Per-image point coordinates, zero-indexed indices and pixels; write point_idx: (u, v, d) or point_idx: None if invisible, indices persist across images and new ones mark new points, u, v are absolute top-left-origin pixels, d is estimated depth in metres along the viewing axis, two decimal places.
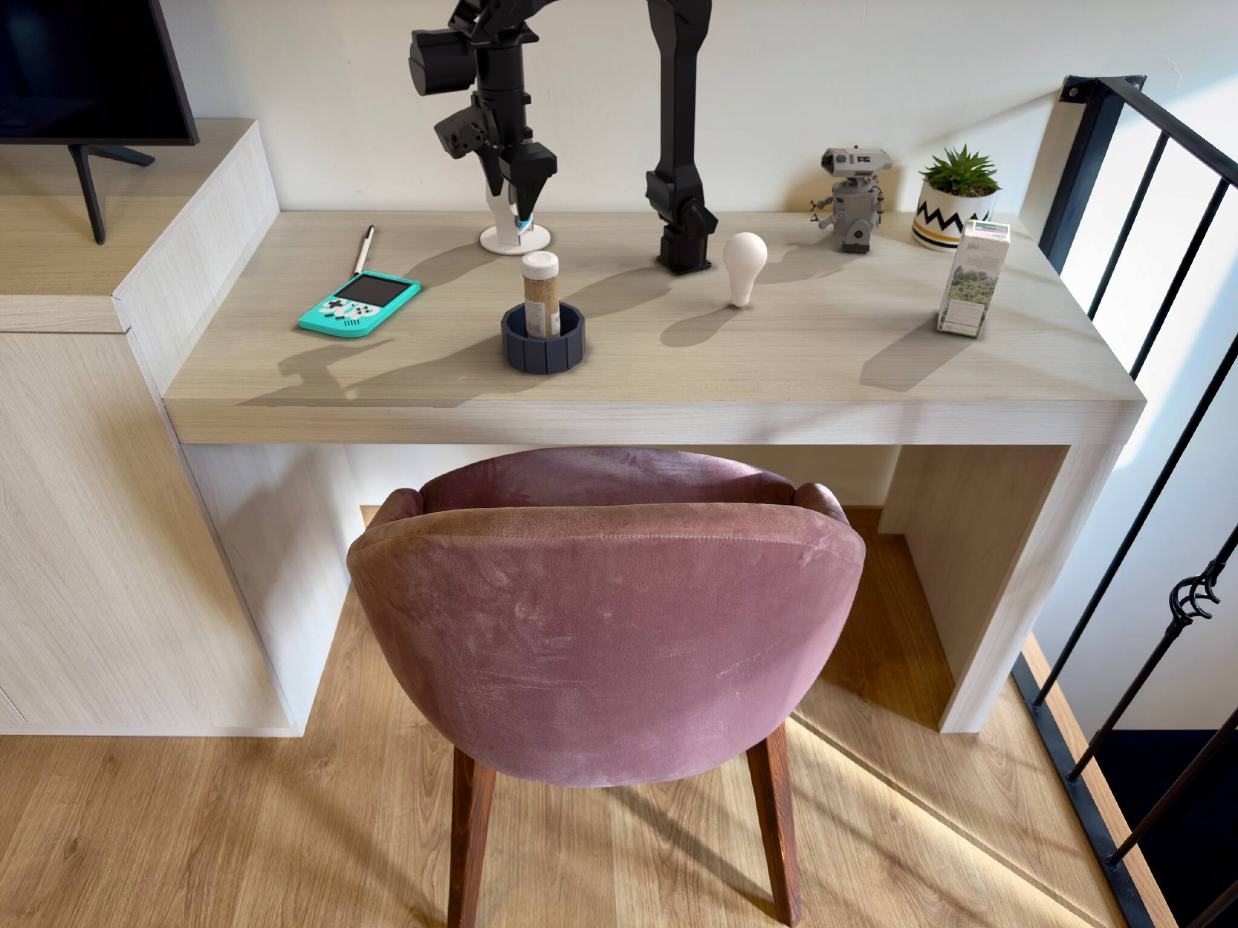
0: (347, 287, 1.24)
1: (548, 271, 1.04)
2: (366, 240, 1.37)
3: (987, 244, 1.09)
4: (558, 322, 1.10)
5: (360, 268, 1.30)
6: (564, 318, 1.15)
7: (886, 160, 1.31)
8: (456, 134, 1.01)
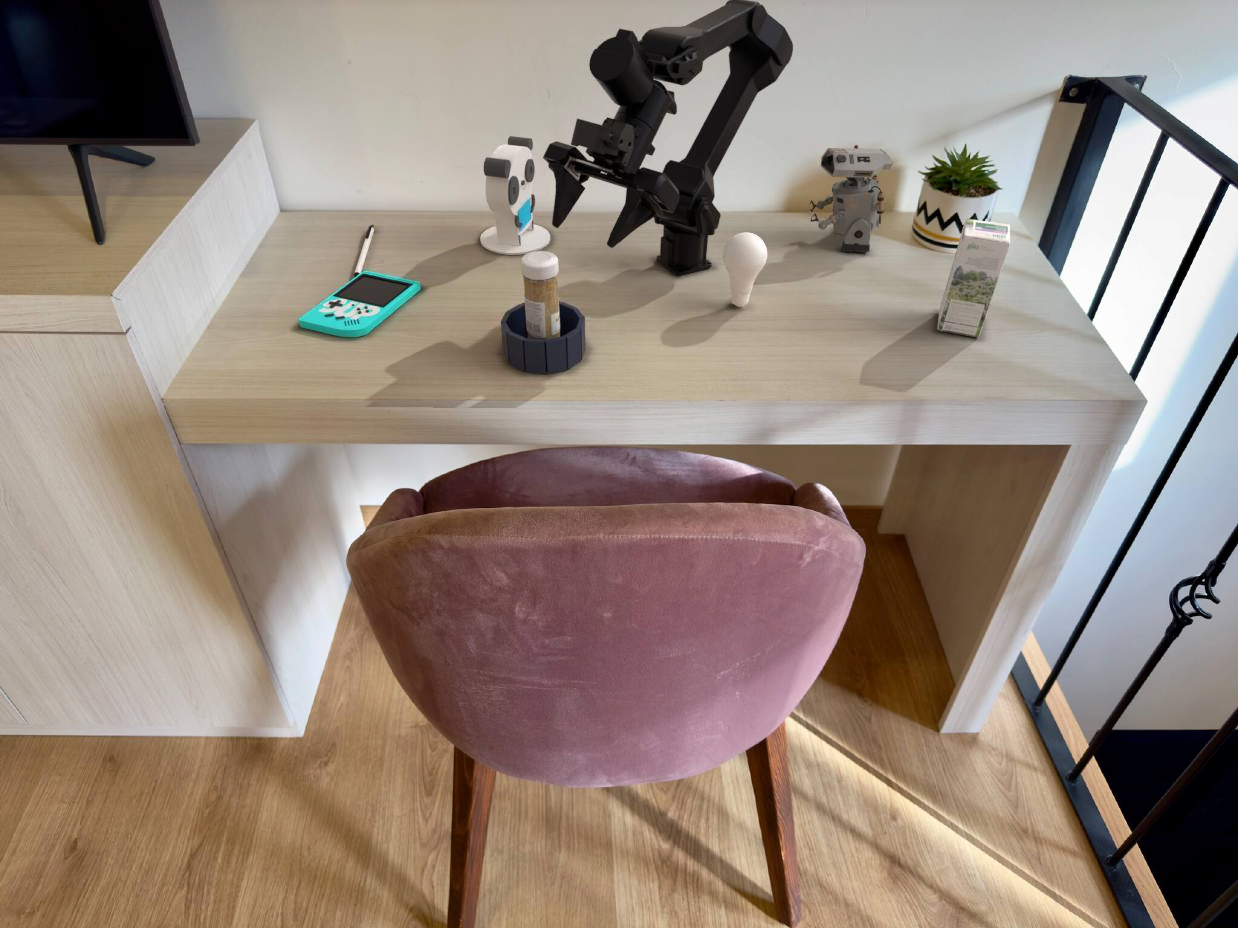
0: (347, 287, 1.24)
1: (548, 271, 1.04)
2: (366, 240, 1.37)
3: (987, 244, 1.09)
4: (558, 322, 1.10)
5: (360, 268, 1.30)
6: (564, 318, 1.15)
7: (886, 160, 1.31)
8: (617, 128, 1.02)
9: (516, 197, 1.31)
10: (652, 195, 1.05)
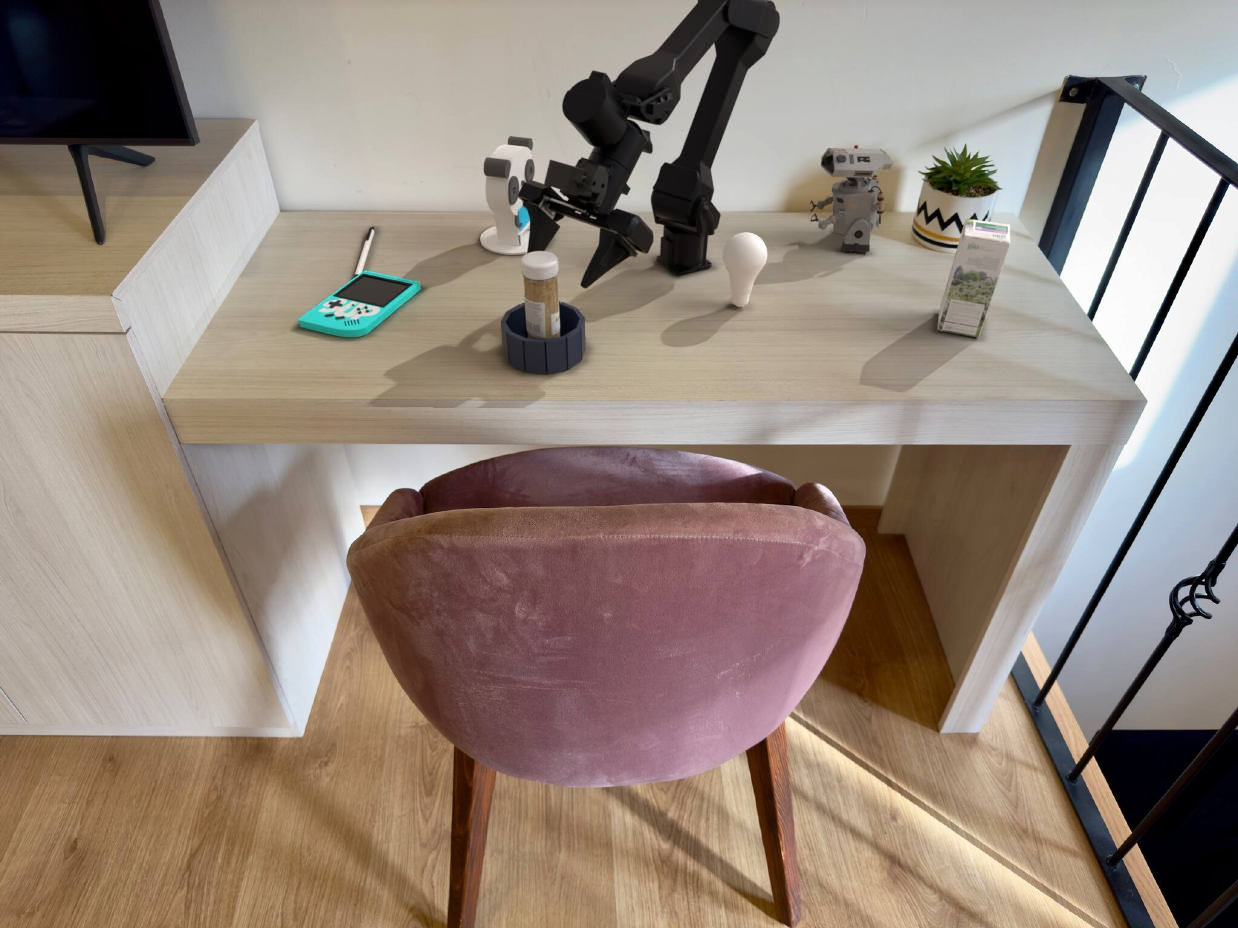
0: (347, 287, 1.24)
1: (548, 271, 1.04)
2: (366, 242, 1.37)
3: (987, 244, 1.09)
4: (558, 322, 1.10)
5: (360, 270, 1.30)
6: (564, 318, 1.15)
7: (886, 160, 1.31)
8: (590, 170, 1.01)
9: (516, 197, 1.31)
10: (626, 237, 1.04)
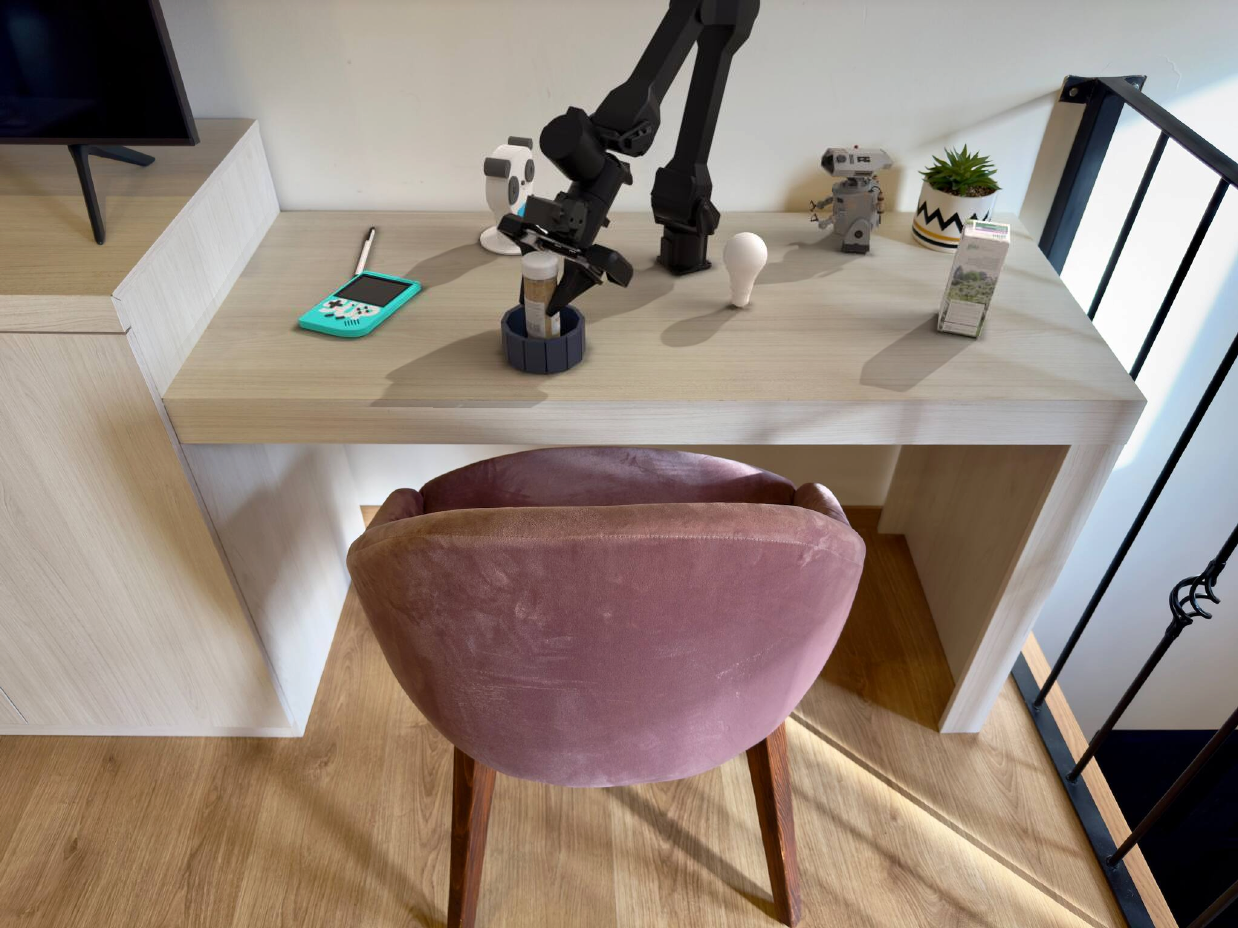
0: (347, 287, 1.24)
1: (548, 271, 1.04)
2: (367, 242, 1.37)
3: (987, 244, 1.09)
4: (558, 322, 1.10)
5: (360, 270, 1.30)
6: (564, 318, 1.15)
7: (886, 160, 1.31)
8: (567, 206, 1.00)
9: (516, 197, 1.31)
10: (590, 266, 1.05)
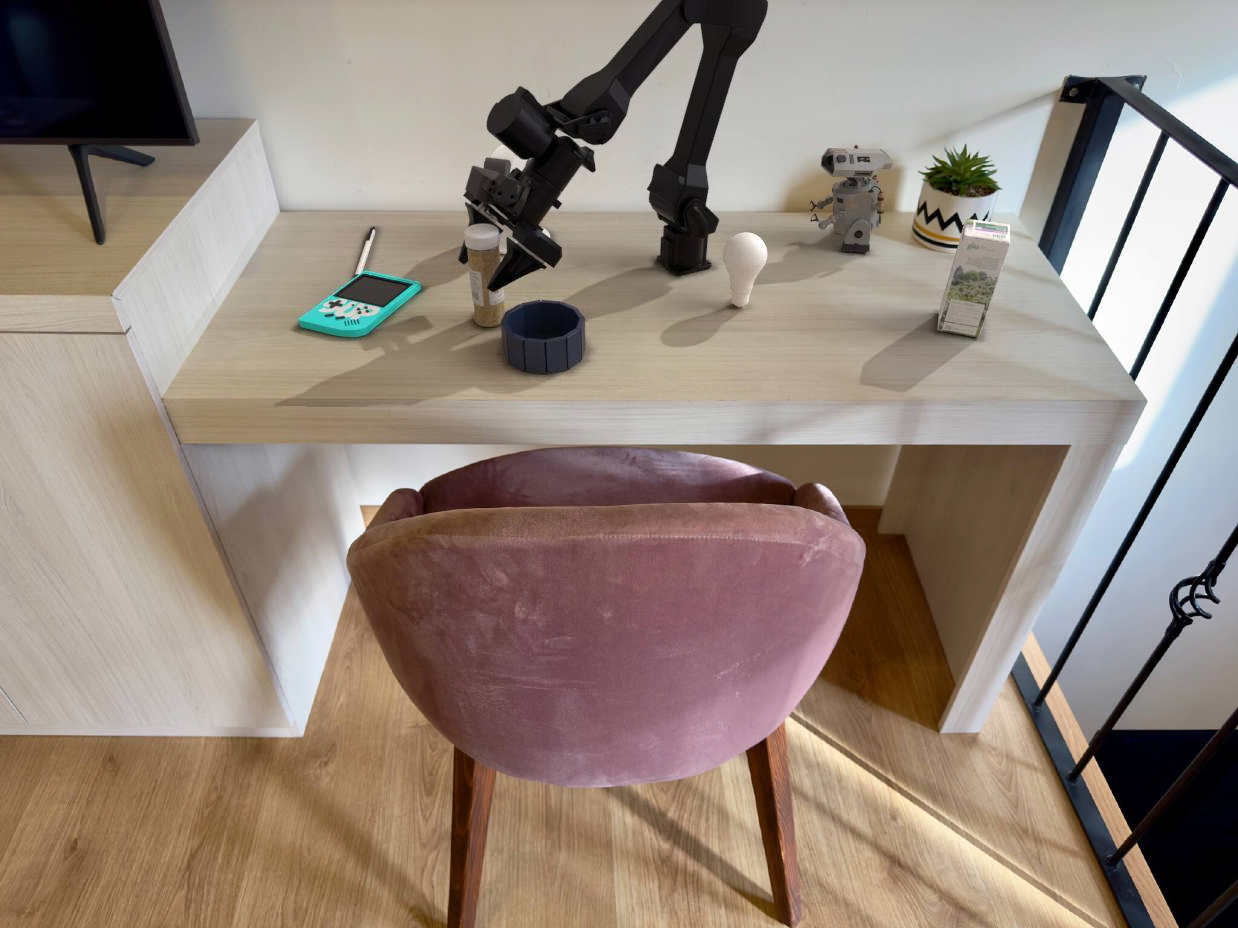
0: (347, 287, 1.24)
1: (482, 243, 1.10)
2: (367, 242, 1.37)
3: (987, 244, 1.09)
4: (498, 294, 1.16)
5: (360, 270, 1.30)
6: (564, 318, 1.15)
7: (886, 160, 1.31)
8: (498, 180, 1.05)
9: None
10: None
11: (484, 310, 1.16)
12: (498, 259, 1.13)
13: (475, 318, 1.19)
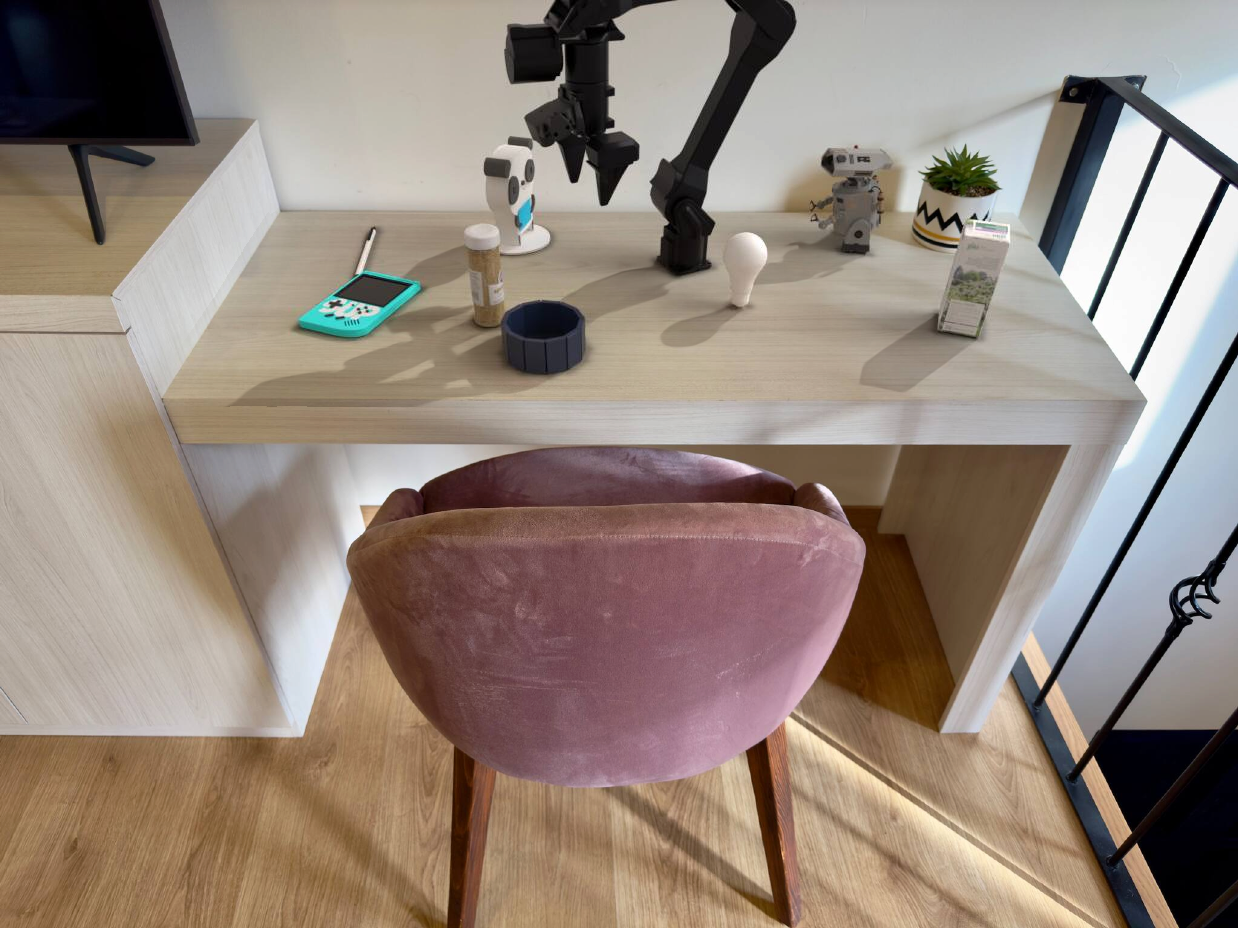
0: (347, 287, 1.24)
1: (483, 243, 1.10)
2: (367, 242, 1.37)
3: (987, 244, 1.09)
4: (498, 294, 1.16)
5: (361, 270, 1.30)
6: (564, 318, 1.15)
7: (886, 160, 1.31)
8: (547, 124, 1.09)
9: (516, 197, 1.31)
10: None
11: (484, 310, 1.16)
12: (498, 259, 1.13)
13: (475, 318, 1.19)
